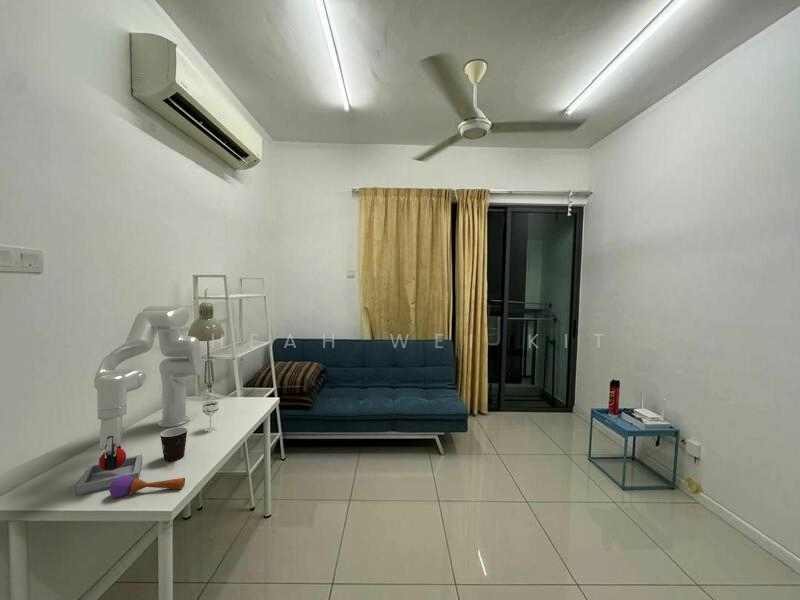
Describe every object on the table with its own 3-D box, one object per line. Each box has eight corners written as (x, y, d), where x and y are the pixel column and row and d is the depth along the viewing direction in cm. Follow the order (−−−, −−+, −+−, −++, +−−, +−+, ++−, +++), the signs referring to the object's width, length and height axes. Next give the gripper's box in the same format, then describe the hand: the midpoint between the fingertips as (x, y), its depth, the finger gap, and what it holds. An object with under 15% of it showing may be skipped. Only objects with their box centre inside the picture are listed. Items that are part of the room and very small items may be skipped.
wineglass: (210, 425, 159) (210, 400, 158) (222, 427, 157) (222, 401, 157) (198, 431, 152) (198, 405, 152) (210, 433, 150) (210, 406, 150)
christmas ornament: (131, 466, 116) (130, 438, 116) (107, 476, 110) (106, 446, 109) (118, 462, 119) (117, 434, 118) (94, 472, 112) (93, 443, 112)
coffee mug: (164, 454, 131) (164, 428, 131) (189, 450, 134) (189, 425, 134) (154, 469, 120) (154, 441, 120) (182, 464, 123) (182, 438, 123)
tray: (88, 473, 116) (87, 465, 116) (142, 462, 124) (142, 454, 124) (77, 496, 104) (76, 486, 104) (138, 481, 112) (138, 472, 112)
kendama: (179, 482, 105) (104, 485, 101) (179, 498, 107) (105, 502, 102) (186, 469, 111) (116, 471, 106) (186, 484, 112) (116, 487, 107)
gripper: (102, 405, 119) (103, 455, 119) (91, 422, 104) (92, 478, 105) (129, 402, 123) (130, 450, 123) (123, 417, 108) (123, 471, 109)
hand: (112, 462), depth 114 cm, fingers closed on christmas ornament, 7 cm apart
